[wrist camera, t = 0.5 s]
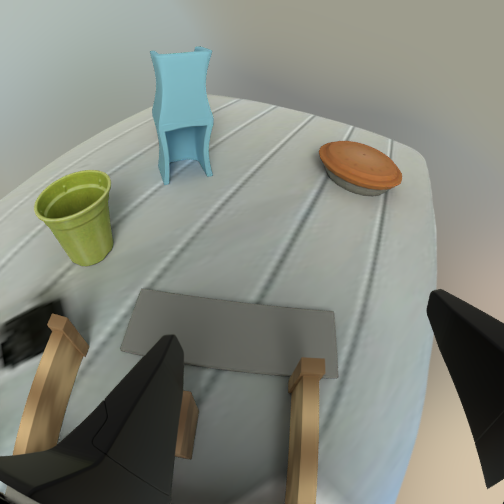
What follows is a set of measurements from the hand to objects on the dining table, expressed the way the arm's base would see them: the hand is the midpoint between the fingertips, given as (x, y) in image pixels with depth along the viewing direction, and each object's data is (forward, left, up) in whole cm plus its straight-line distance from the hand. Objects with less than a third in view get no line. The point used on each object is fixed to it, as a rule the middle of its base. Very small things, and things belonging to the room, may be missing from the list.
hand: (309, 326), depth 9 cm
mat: (+8, +3, -17) cm, 19 cm away
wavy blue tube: (+37, +15, -17) cm, 43 cm away
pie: (+41, -15, -17) cm, 47 cm away
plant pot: (+17, +22, -17) cm, 33 cm away
